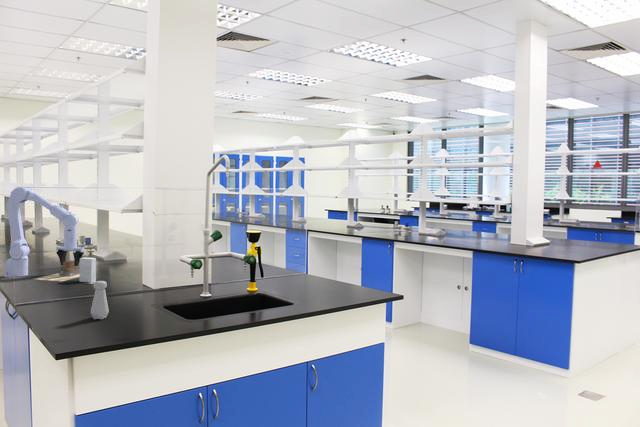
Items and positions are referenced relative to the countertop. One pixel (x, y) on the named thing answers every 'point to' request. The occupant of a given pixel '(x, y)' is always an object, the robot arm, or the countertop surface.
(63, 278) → the clip board
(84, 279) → the skincare box
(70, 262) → the tan upright block
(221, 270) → the countertop surface
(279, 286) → the countertop surface
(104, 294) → the salt shaker
